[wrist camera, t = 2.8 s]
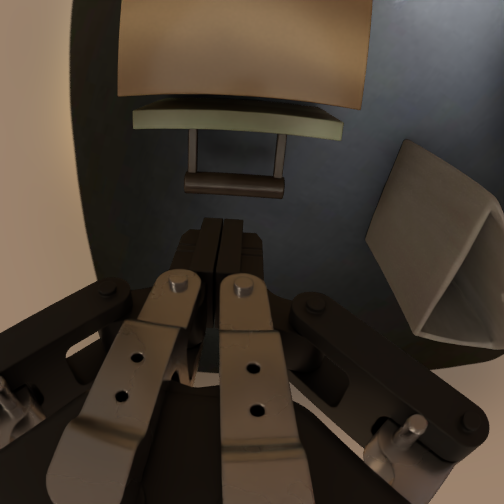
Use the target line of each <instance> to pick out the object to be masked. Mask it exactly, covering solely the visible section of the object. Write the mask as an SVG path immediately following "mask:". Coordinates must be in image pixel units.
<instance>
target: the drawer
mask: <svg viewBox="0 0 504 504" xmlns="http://www.w3.org/2000/svg"><path fill="white" fill-rule="evenodd" d="M343 125H344V123H343V122H342V121H340V120H339V119H337V118H335V117H334V116H332V115H331V114H329V113H327V112H326V111H324V110H323V109H321V108H319V107H315V106H308V105H299V104H291V103H281V102H271V101H259V100H244V99H225V98H164V99H161V100H159V101H156V102H153V103H151V104H148V105H146V106H143V107H141V108H138V109H136V110H133V129H189V130H188V171H187V172H186V174H185V178H184V190H185V193H195V194H214V195H232V196H247V197H261V198H275V199H282V198H283V195H284V188H285V180H284V177H282V174H283V165H284V157H285V148H286V139H287V135H296V136H305V137H314V138H322V139H329V140H337V141H341V138H342V132H343ZM198 129H215V130H236V131H251V132H265V133H276V134H277V142H276V152H275V162H274V172H273V176H266V175H252V174H237V173H219V172H198V171H197V163H198Z"/></svg>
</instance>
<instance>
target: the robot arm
mask: <svg viewBox="0 0 504 504" xmlns="http://www.w3.org/2000/svg"><path fill="white" fill-rule="evenodd" d="M214 317H215V328H219V385H216V386H209V387H200V388H196V387H193V385H194V381H195V377H196V373H197V369H198V365H199V361H200V357H201V353H202V349H203V338H204V336H205V330H206V328H213V325H214ZM97 331H98V333H99V336H100V339H98V340H96V341H95V342H93V343H91V344H90V345H88V346H86V347H85V348H83V349H82V350H80V351H78V352H77V353H75V354H73V355H72V356H70V357H68V358H66V353H67V351H68V350H69V348H70V347H72V346H73V345H75V344H77V343H78V342H80V341H81V340H83V339H85V338H87V337H89V336H90V335H92V334H94V333H95V332H97ZM325 355H326V356H327V357H328V358H327V357H326V356H325ZM330 359H331V360H332V361H333V362H334V363H333V362H332V361H331V360H330ZM336 364H337V365H338V366H339V367H340V368H339V367H338V366H337V365H336ZM342 369H343V370H344V371H345V372H344V371H343V370H342ZM289 382H290V383H292V384H293V385H294V386H295V387H296V388H297V389H298V390H299V391H300V392H301V393H302V394H303V395H304V396H306V398H308V399H309V400H310V401H311V402H312V403H313V404H314V405H315V406H316V407H317V408H319V409H320V410H321V411H322V412H323V413H324V414H325V415H326V416H327V417H329V418H330V419H331V420H332V421H333V422H334V423H336V425H337V426H339V427H340V428H341V429H342V430H343V431H344V432H345V433H347V434H348V435H349V436H350V437H351V438H352V439H353V440H355V441H356V442H357V443H358V444H359V445H360V446H362V447H363V448H364V452H363V458H364V461H363V460H362V459H361V458H359V457H358V456H357V455H356V454H355V453H354V452H353V451H352V450H351V449H350V448H349V447H348V446H347V445H346V444H344V443H343V442H342V441H341V440H340V439H339V438H338V437H337V436H336V435H335V434H334V433H333V432H332V431H331V430H330V429H329V428H328V427H327V426H326V425H325V424H324V423H322V421H320V419H318V418H317V417H316V416H315V415H314V414H313V413H312V412H310V411H309V410H308V409H306V408H305V407H304V406H302V405H300V404H299V403H296V402H294V401H292V395H291V390H290V384H289ZM488 434H489V421H488V419H487V416H486V414H485V413H484V411H483V410H482V409H481V408H480V407H479V406H477V405H476V404H475V403H473V402H472V401H471V400H469V399H468V398H467V397H465V396H464V395H463V394H461V393H460V392H459V391H457V390H456V389H454V388H453V387H452V386H450V385H449V384H448V383H446V382H445V381H444V380H442V379H441V378H440V377H438V376H437V375H436V374H434V373H433V372H431V371H430V370H429V369H427V368H426V367H425V366H423V365H422V364H421V363H419V362H418V361H417V360H415V359H414V358H412V357H411V356H410V355H408V354H407V353H406V352H404V351H403V350H402V349H400V348H399V347H397V346H396V345H395V344H393V343H392V342H391V341H389V340H388V339H387V338H385V337H384V336H382V335H381V334H380V333H378V332H377V331H376V330H374V329H373V328H371V327H370V326H369V325H367V324H366V323H365V322H363V321H362V320H360V319H359V318H358V317H356V316H355V315H354V314H352V313H351V312H349V311H348V310H347V309H345V308H344V307H343V306H341V305H340V304H338V303H337V302H336V301H334V300H333V299H331V298H330V297H328V296H326V295H324V294H321V293H318V292H304V293H301V294H298V295H297V296H296V297H294V299H293V300H292V301H291V300H288V299H284V298H281V297H278V296H276V295H274V294H273V293H271V292H270V291H269V290H268V289H267V287H266V284H265V283H264V272H263V250H262V240H261V239H260V237H259V236H258V235H257V234H256V233H243V220H237V219H225V220H224V225H223V219H220V218H204V220H203V223H202V226H201V230H194V229H190V230H188V231H187V232H186V233H185V234H183V235H182V237H181V239H180V242H179V245H178V247H177V251H176V253H175V255H174V258H173V261H172V264H171V266H170V269H169V271H166V272H164V273H163V274H161V275H160V276H159V277H158V278H157V280H156V282H155V284H154V286H153V287H149V288H145V289H137V290H131V289H130V285H129V284H128V282H127V281H125V280H123V279H121V278H116V277H109V278H104V279H101V280H98V281H96V282H94V283H92V284H90V285H88V286H87V287H85V288H83V289H81V290H79V291H77V292H75V293H73V294H71V295H69V296H67V297H65V298H64V299H62V300H60V301H58V302H56V303H54V304H52V305H50V306H49V307H47V308H45V309H43V310H41V311H39V312H38V313H36V314H34V315H32V316H30V317H28V318H27V319H25V320H23V321H21V322H19V323H18V324H16V325H14V326H12V327H10V328H9V329H7V330H5V331H3V332H2V333H0V504H428V503H429V502H430V501H431V499H432V498H433V496H434V495H435V494H436V492H437V491H438V489H439V488H440V487H441V485H442V484H443V482H444V481H445V479H446V478H447V477H448V475H449V474H450V472H451V470H452V469H453V467H454V466H455V465H456V464H457V463H459V462H460V461H461V460H463V459H464V458H465V457H466V456H468V455H469V454H470V453H471V452H473V451H474V450H475V449H476V448H477V447H478V446H480V445H481V444H482V443H483V442H484V441H485V440H486V438H487V437H488Z"/></svg>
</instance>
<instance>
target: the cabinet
mask: <svg viewBox="0 0 504 504" xmlns="http://www.w3.org/2000/svg"><path fill="white" fill-rule="evenodd" d="M372 2H373V0H122V5H121V17H120V31H119V51H118V96H119V97H120V96H135V95H159V94H214V95H238V96H253V97H266V98H277V99H287V100H296V101H304V102H312V103H319V104H326V105H333V106H339V107H345V108H351V109H356V110H361V104H362V97H363V90H364V82H365V74H366V66H367V57H368V48H369V38H370V27H371V15H372Z"/></svg>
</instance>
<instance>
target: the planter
mask: <svg viewBox="0 0 504 504" xmlns="http://www.w3.org/2000/svg"><path fill="white" fill-rule="evenodd" d="M365 241H366V242H367V244H368V246H369V248H370V249H371V251H372V253H373V255H374V257H375V258H376V260H377V262H378V264H379V266H380V268H381V270H382V271H383V273H384V275H385V277H386V279H387V281H388V283H389V285H390V287H391V289H392V291H393V293H394V295H395V297H396V299H397V301H398V303H399V305H400V307H401V309H402V311H403V313H404V315H405V317H406V319H407V321H408V323H409V325H410V327H411V330H412V332H413V334H414V335H416V336H420V337H424V338H428V339H431V340H435V341H440V342H446V343H452V344H458V345H466V346H474V347H483V348H490V349H495V350H497V349H504V214H503V211H502V209H501V206H500V204H499V202H498V200H497V199H496V198H495V196H493V195H492V194H491V193H490V192H488V191H487V190H486V189H485V188H483V187H482V186H481V185H480V184H478V183H477V182H475V181H474V180H472V179H471V178H470V177H468V176H467V175H465V174H464V173H462V172H461V171H459V170H458V169H456V168H455V167H453V166H452V165H450V164H448V163H447V162H445V161H444V160H442V159H440V158H439V157H437V156H436V155H434V154H432V153H431V152H429V151H427V150H426V149H424V148H422V147H421V146H419V145H417V144H415V143H414V142H412V141H410V140H408V139H406V140H404V141H403V144H402V146H401V149H400V151H399V154H398V156H397V159H396V161H395V163H394V166H393V168H392V171H391V173H390V176H389V178H388V180H387V183H386V185H385V187H384V190H383V193H382V195H381V198H380V200H379V203H378V205H377V208H376V210H375V213H374V215H373V218H372V221H371V224H370V226H369V229H368V232H367V235H366V238H365Z"/></svg>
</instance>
